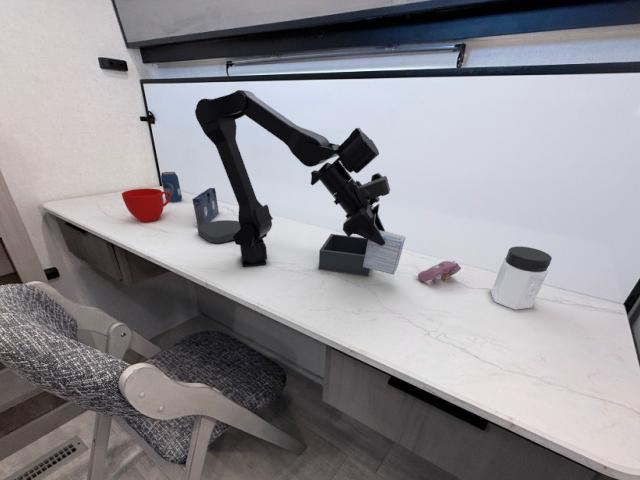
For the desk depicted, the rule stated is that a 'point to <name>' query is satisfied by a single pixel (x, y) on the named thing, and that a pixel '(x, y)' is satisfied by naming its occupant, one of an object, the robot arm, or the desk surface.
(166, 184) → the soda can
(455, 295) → the desk surface
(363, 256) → the storage bin
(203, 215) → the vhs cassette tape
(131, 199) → the ceramic cup
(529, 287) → the jar
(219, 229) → the media streaming box
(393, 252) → the medicine box
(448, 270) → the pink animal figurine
